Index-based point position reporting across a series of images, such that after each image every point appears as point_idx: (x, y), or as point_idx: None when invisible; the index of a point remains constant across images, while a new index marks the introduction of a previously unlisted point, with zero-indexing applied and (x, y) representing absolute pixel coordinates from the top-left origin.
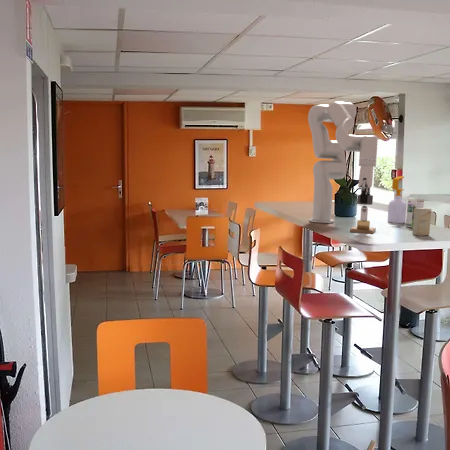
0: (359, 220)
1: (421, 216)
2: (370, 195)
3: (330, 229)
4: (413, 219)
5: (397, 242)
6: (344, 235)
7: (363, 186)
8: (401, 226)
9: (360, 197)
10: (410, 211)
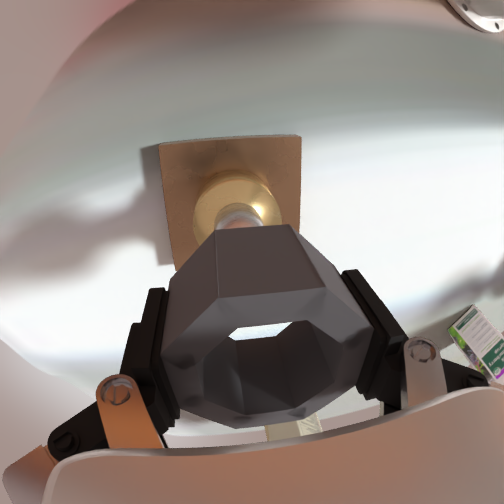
0: (237, 196)
1: None
2: (294, 408)
3: (198, 16)
4: (462, 349)
5: (47, 361)
6: (23, 167)
7: (17, 486)
8: (475, 293)
9: (140, 331)
10: (489, 353)
